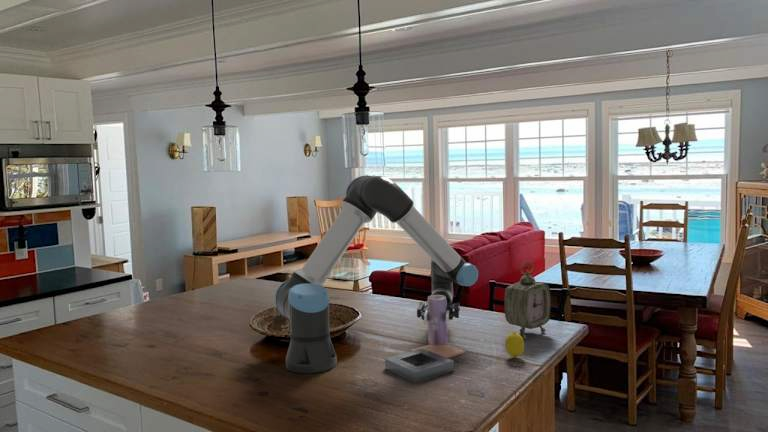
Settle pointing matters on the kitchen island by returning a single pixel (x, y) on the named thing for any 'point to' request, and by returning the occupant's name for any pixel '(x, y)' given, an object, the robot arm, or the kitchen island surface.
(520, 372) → the kitchen island surface
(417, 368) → the socket block
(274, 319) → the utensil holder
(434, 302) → the beverage can
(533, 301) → the tabletop clock
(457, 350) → the terracotta tile
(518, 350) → the lemon
